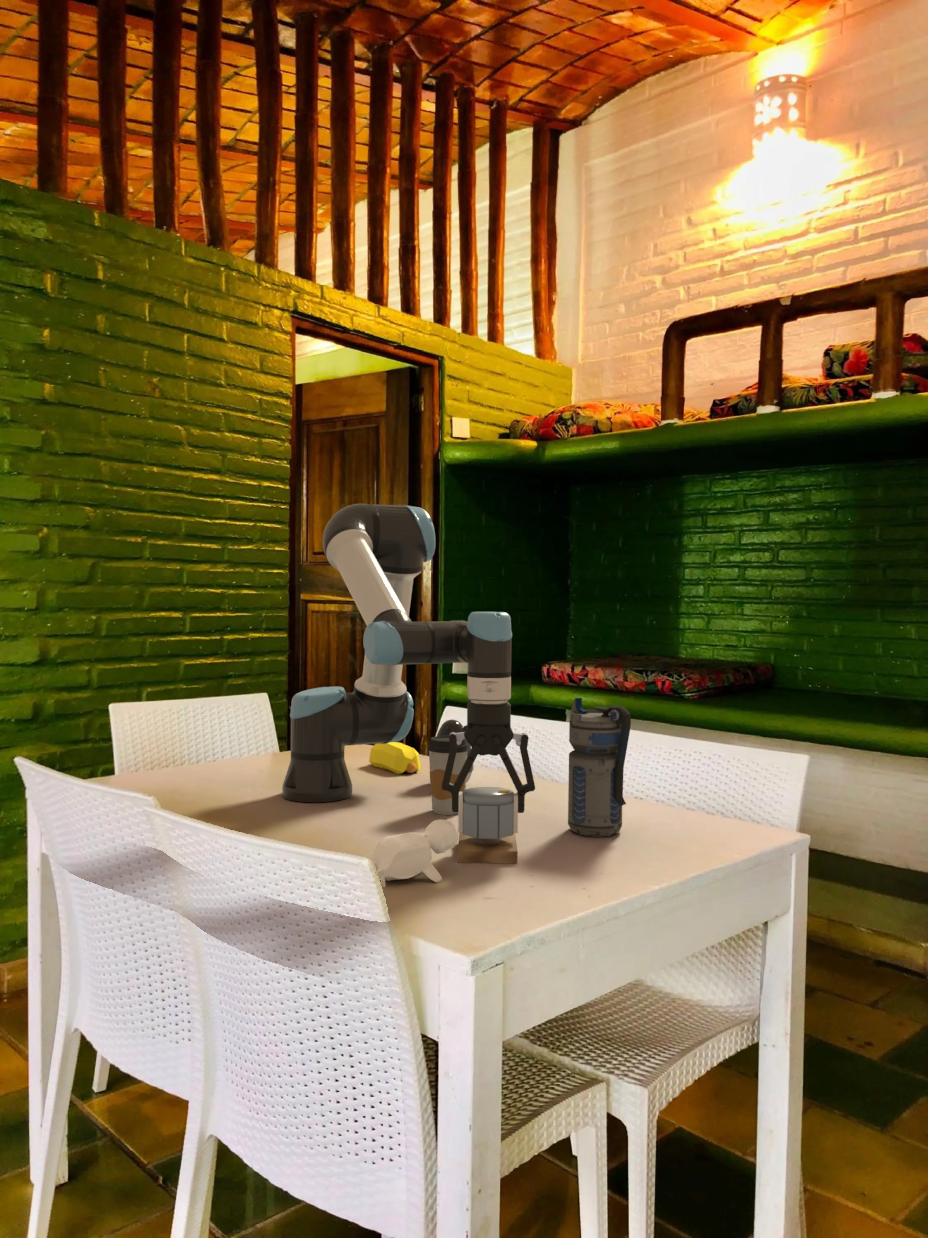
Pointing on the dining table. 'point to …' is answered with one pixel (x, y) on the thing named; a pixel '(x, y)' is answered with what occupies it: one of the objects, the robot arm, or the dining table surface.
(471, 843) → the stud base
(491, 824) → the cap
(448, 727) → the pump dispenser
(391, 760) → the yellow faceted long part
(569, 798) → the beverage bottle
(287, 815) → the dining table surface
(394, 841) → the white animal figurine
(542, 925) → the dining table surface
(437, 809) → the coffee cup
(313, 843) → the dining table surface
